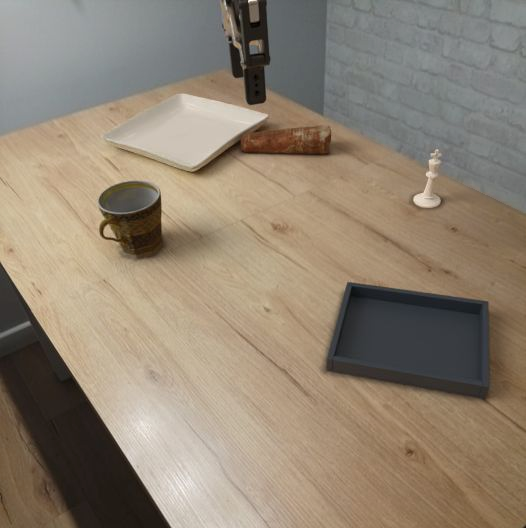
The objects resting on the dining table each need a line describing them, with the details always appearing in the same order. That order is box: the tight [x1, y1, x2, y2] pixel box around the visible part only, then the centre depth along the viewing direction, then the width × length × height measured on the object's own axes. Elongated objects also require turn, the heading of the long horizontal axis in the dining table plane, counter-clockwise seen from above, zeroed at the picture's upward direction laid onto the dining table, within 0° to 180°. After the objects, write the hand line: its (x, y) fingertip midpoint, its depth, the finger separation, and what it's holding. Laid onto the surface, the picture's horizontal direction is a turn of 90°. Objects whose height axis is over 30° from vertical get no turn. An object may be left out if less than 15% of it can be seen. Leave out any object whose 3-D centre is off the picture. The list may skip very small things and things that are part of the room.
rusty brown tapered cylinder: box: [240, 125, 332, 155], centre depth 108 cm, size 6×19×6 cm, turn 82°
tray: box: [325, 281, 490, 400], centre depth 69 cm, size 20×16×3 cm
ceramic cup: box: [96, 179, 163, 260], centre depth 84 cm, size 13×10×10 cm
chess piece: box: [412, 149, 443, 209], centre depth 90 cm, size 5×5×10 cm
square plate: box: [99, 92, 270, 173], centre depth 114 cm, size 27×27×4 cm
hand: (248, 89), depth 60 cm, fingers open, 8 cm apart
